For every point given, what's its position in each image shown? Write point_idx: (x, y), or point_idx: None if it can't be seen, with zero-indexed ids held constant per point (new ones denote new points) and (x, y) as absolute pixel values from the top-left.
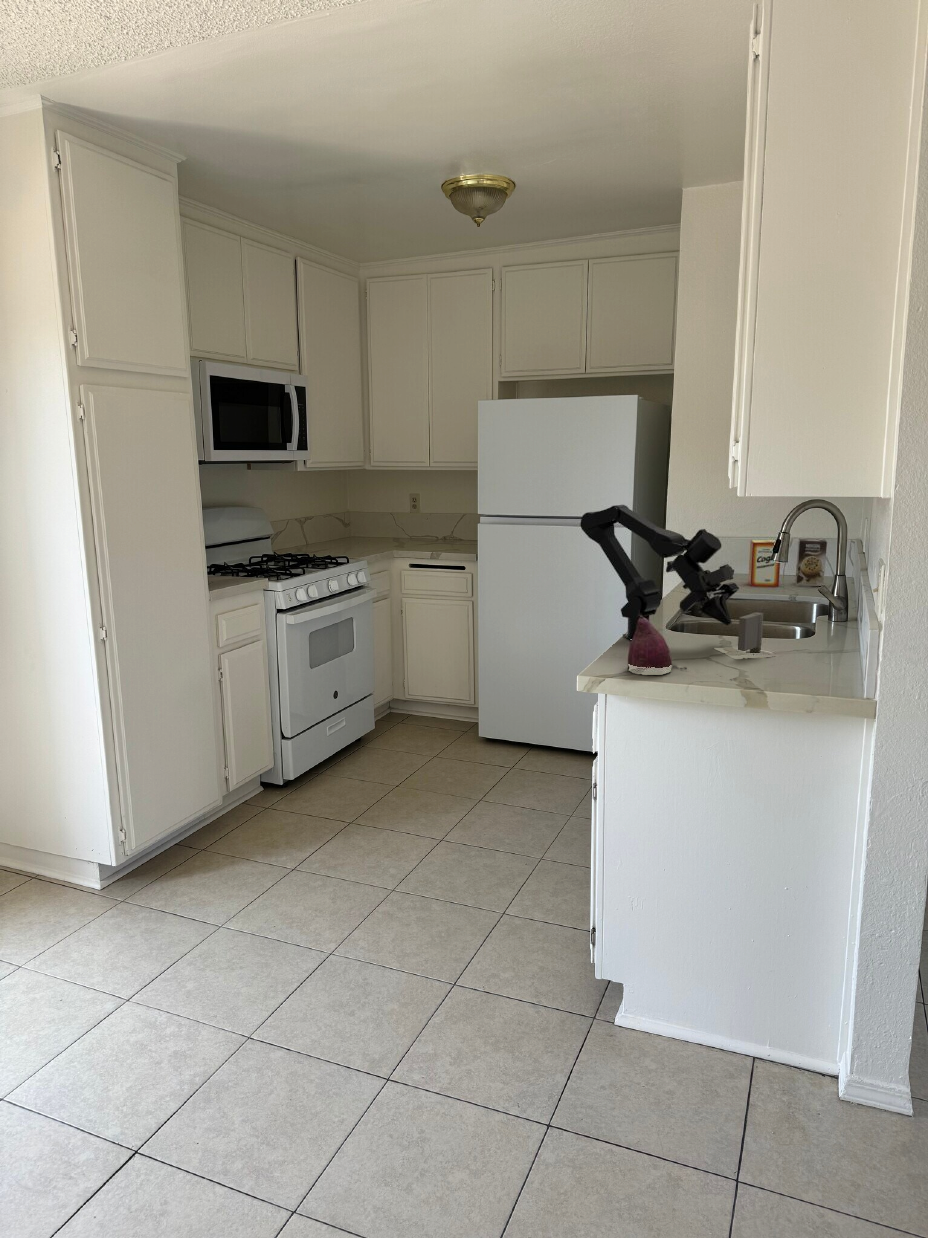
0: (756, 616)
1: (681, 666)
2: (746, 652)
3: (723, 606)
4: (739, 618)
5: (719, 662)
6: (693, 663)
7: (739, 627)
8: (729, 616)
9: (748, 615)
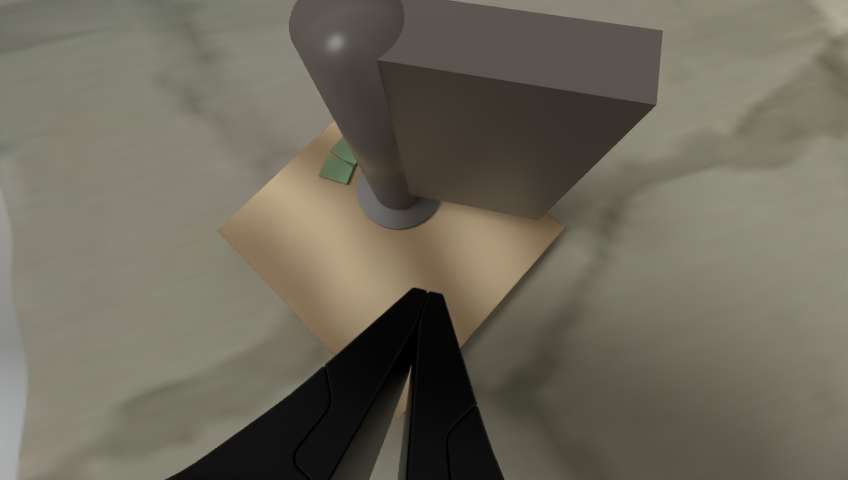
0: (443, 9)
1: (757, 454)
2: (421, 220)
3: (345, 446)
4: (649, 110)
5: (558, 308)
6: (658, 417)
7: (599, 155)
8: (384, 319)
9: (490, 60)
